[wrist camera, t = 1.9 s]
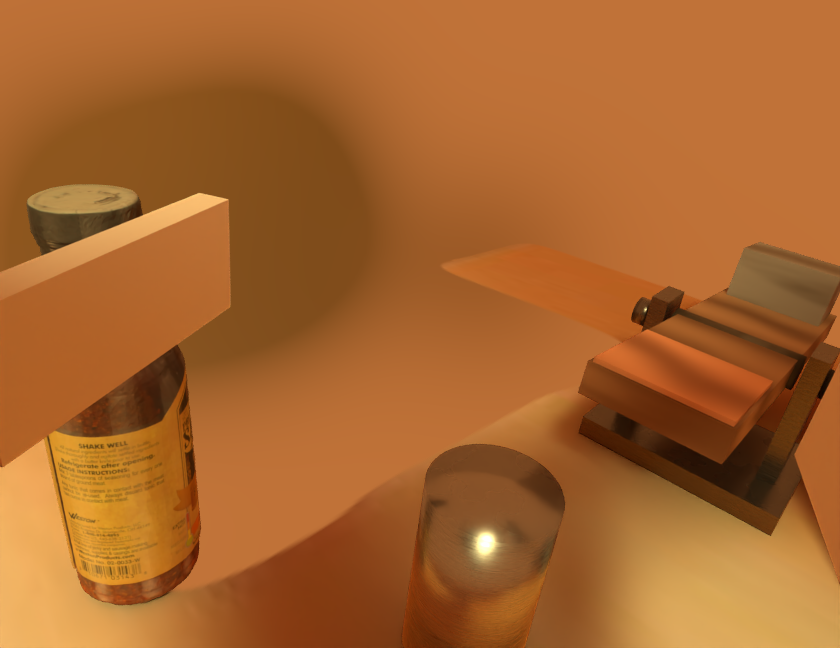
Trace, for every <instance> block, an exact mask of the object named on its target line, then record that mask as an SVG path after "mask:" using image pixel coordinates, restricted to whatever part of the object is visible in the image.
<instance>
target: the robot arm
mask: <svg viewBox="0 0 840 648" xmlns="http://www.w3.org/2000/svg"><path fill="white" fill-rule="evenodd" d="M230 306H231V299H230V249H229V200H228V199H224V198H219V197H215V196H210V195H206V194H202V193H198V194H196V195H193V196H191V197H188V198H186V199H183V200H181V201H178V202H176V203H173V204H170V205H168V206H165V207H163V208H160V209H158V210H155V211H153V212H151V213H148V214H145V215H143V216H140V217H138V218H135V219H133V220H130V221H128V222H125V223H123V224H120V225H118V226H115V227H113V228H110V229H108V230H105V231H103V232H100V233H98V234H95V235H93V236H90V237H88V238H85V239H83V240H80V241H78V242H75V243H72V244H70V245H67V246H65V247H62V248H60V249H57V250H55V251H52V252H50V253H47V254H45V255H42V256H40V257H37V258H35V259H32V260H30V261H27V262H25V263H22V264H20V265H17V266H15V267H12V268H10V269H7V270H5V271H2V272H0V467H4V466H5V465H7V464H8V463H10V462H11V461H13V460H14V459H15V458H17V457H18V456H20V455H21V454H22V453H24V452H25V451H27V450H28V449H30V448H31V447H32V446H34V445H35V444H37V443H38V442H39V441H41V440H42V439H44V438H45V437H47V436H48V435H49V434H51V433H52V432H54V431H55V430H56V429H58V428H59V427H61V426H62V425H64V424H65V423H66V422H68V421H69V420H71V419H72V418H73V417H75V416H76V415H78V414H79V413H81V412H82V411H83V410H85V409H86V408H88V407H89V406H90V405H92V404H93V403H95V402H96V401H98V400H99V399H100V398H102V397H103V396H105V395H106V394H107V393H109V392H110V391H112V390H113V389H115V388H116V387H117V386H119V385H120V384H122V383H123V382H124V381H126V380H127V379H129V378H130V377H132V376H133V375H134V374H136V373H137V372H139V371H140V370H141V369H143V368H144V367H146V366H147V365H149V364H150V363H151V362H153V361H154V360H156V359H157V358H158V357H160V356H161V355H163V354H164V353H166V352H167V351H168V350H170V349H171V348H173V347H174V346H175V345H177V344H178V343H180V342H181V341H182V340H184V339H185V338H187V337H188V336H190V335H191V334H192V333H194V332H195V331H197V330H198V329H200V328H201V327H202V326H204V325H205V324H207V323H208V322H210V321H211V320H212V319H214V318H215V317H217V316H218V315H219V314H221V313H222V312H224V311H225V310H226V309H228V308H229V307H230ZM794 455H795V458H796V461H797V464H798V467H799V470H800V472H801V475H802V478H803V481H804V484H805V487H806V490H807V492H808V495H809V498H810V501H811V504H812V507H813V509H814V512H815V515H816V518H817V521H818V524H819V527H820V529H821V532H822V535H823V538H824V541H825V544H826V547H827V549H828V552H829V555H830V558H831V561H832V564H833V566H834V569H835V572H836V575H837V578H838V581H839V584H840V363H839V365H838V367H837V369H836V371H835V373H834V375H833V377H832V379H831V381H830V383H829V385H828V387H827V389H826V391H825V393H824V395H823V397H822V399H821V401H820V404H819V406H818V408H817V410H816V412H815V414H814V416H813V418H812V420H811V422H810V424H809V426H808V428H807V430H806V432H805V434H804V436H803V438H802V440H801V442H800V444H799V446H798V448H797V450H796V452H795V454H794Z"/></svg>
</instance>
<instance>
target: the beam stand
mask: <svg viewBox="0 0 840 648" xmlns="http://www.w3.org/2000/svg"><path fill="white" fill-rule="evenodd" d="M683 295H684V292H683V291H681V290H678V289H675V288H672V287H670V286H668V287H667V288H665V289H664V290H662V291H660V292H659V293H657V294H656V295H654V296H653V297H652V300H650V299H647V298H644V297H642V298H641V299H640V300H639V301H638V302H637V304H636V306H635V308H634V310H633V313H632V317H631V320H632V322H634V323H637V324H639V325H642V326H643V329H642V332H643V331H645V330H647V329H650V328H652V327H654V326H656V325H658V324H660V323H662V322H664V321H666V320H667V319H669V318H671V316H672V315H673V313H674V312H675V311H676V309H678V308H679V307H680V304H681V301H682V298H683ZM839 353H840V348H837V347H834V346H831V345H829V344H826V343H823V342H821V343H820V344H819V345H818V347H817V348H816V349H815V351H814V352H813V354H812V355H811V356H810V359H809V361H808V363H807V365H806V367H805V369H804V372H803V374H802V376H801V378H800V380H799V382H798V385H797V387H796V389H795V391H794V393H793V396H792V398H791V400H790V402H789V404H788V406H787V409H786V411H785V413H784V415H783V417H782V419H781V422H780V424H779V426H778V428H777V430H776V433H773V432H771V431H769V430H767V429H765V428H762V427H760V426H758V425H756V424H755V425H754V426H753V427H752V429H751V430H750V431H749V432H748V433H747V435H746V436H745V437H744V438H743V440H742V441H741V442H740V443H739V444H738V446H737V447H736V448H735V449H734V450H733V452H732V453H731V454H730V455H729V456H728V458H727V459H726V460H725V461H724V463H723V464H720V463H718V462H716V461H714V460H712V459H710V458H708V457H706V456H704V455H702V454H700V453H698V452H696V451H694V450H692V449H690V448H688V447H686V446H684V445H682V444H680V443H678V442H676V441H674V440H672V439H670V438H668V437H666V436H664V435H662V434H660V433H658V432H656V431H654V430H652V429H650V428H648V427H646V426H644V425H642V424H640V423H638V422H636V421H634V420H632V419H630V418H628V417H626V416H624V415H622V414H620V413H618V412H616V411H614V410H612V409H610V408H608V407H606V406H604V405H602V404H600V403H599V404H598V405H597V406H596V407H594V408H593V409H592V410H591V411H589V412H588V413H587V414H586V415H584V416H583V419H582V423H581V426H580V430H579V433H581V434H583V435H585V436H586V437H588V438H590V439H592V440H594V441H596V442H598V443H599V444H601V445H603V446H605V447H607V448H609V449H611V450H612V451H614V452H616V453H618V454H620V455H622V456H624V457H625V458H627V459H629V460H631V461H633V462H635V463H637V464H638V465H640V466H642V467H644V468H646V469H648V470H650V471H651V472H653V473H655V474H657V475H659V476H661V477H663V478H664V479H666V480H668V481H670V482H672V483H674V484H676V485H677V486H679V487H681V488H683V489H685V490H687V491H689V492H690V493H692V494H694V495H696V496H698V497H700V498H702V499H703V500H705V501H707V502H709V503H711V504H713V505H715V506H716V507H718V508H720V509H722V510H724V511H726V512H728V513H729V514H731V515H733V516H735V517H737V518H739V519H741V520H742V521H744V522H746V523H748V524H750V525H752V526H754V527H755V528H757V529H759V530H761V531H763V532H765V533H767V534H768V535H770V536H771V534H772V532H773V531H774V529H775V527H776V525H777V523H778V521H779V519H780V518H781V516H782V514H783V512H784V510H785V508H786V506H787V504H788V503H789V501H790V499H791V497H792V495H793V493H794V491H795V489H796V488H797V486H798V484H799V482H800V480H801V478H802V475H801V472H800V470H799V467H798V464H797V461H796V458H795V455H794V454H795V452H796V450H797V448H798V446H799V444H798V443H796V442H797V440H798V438H799V436H800V434H801V432H802V430H803V428H804V426H805V423H806V421H807V419H808V417H809V415H810V413H811V411H812V409H813V407H814V405H815V403H816V401H817V399H818V398H820V399H822V397H823V395H824V393H825V391H826V389H827V387H828V385H829V383H830V381H831V379H832V377H833V375H834V373H835V370H832V368H833V365H834V363H835V361H836V359H837V357H838V355H839Z"/></svg>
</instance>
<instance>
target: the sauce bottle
mask: <svg viewBox="0 0 840 648" xmlns="http://www.w3.org/2000/svg"><path fill="white" fill-rule="evenodd" d="M27 211H28V217H29V223H30V229H31V233H32V234H33V236H34V239H35V240H36V242H37V244H38V245H39V246H40V251H41V254H42V255H45V254H47V253H50V252H52V251H55V250H57V249H60V248H62V247H65V246H67V245H70V244H72V243H75V242H78V241H80V240H83V239H85V238H88V237H90V236H93V235H95V234H98V233H100V232H103V231H105V230H108V229H110V228H113V227H115V226H118V225H120V224H123V223H125V222H128V221H130V220H133V219H135V218H138V217H140V216H143V214H142V209H141V203H140V199H139V197H138V195H136V193H135V192H134V191H132V190H129V189H126V188H122V187H116V186H109V185H69V186H60V187H55V188H50V189H47V190H44V191H41V192H39V193H37V194H35V195H32V196H31V197H30V198H29V199H28V201H27ZM44 442H45V446H46V451H47V455H48V460H49V464H50V469H51V473H52V478H53V482H54V487H55V491H56V495H57V500H58V504H59V509H60V513H61V517H62V522H63V526H64V530H65V535H66V539H67V544H68V548H69V553H70V558H71V562H72V565H73V567H74V568H77V573H78V578H79V580H80V584H81V586H82V588H83V589H84V591H85V592H86V593H88V594H89V595H90V596H91V597H93V598H95V599H97V600H100V601H102V602H109V603H112V604H115V605H132V604H137V603H146V602H148V601H150V600H152V599H155V598H157V597H161V596H163V595H164V594H165V593H167V592H168V591H170V590H172V589H174V588H175V587H176V586H177V585H179V584H180V583H181V582H182V581H184V580H185V579H186V578H187V576H188V575H189V574H190V572H191V570H192V569H193V567H194V565H195V563H196V561H197V558H198V553H199V536H200V530H201V525H200V524H201V523H200V513H199V502H198V491H197V481H196V470H195V456H194V450H193V436H192V426H191V417H190V407H189V397H188V388H187V375H186V368H185V360H184V357H183V354H182V352H181V351H180V349H179V347H178V345H175V346H174V347H173V348H171V349H170V350H168V351H167V352H166V353H164V354H163V355H161V356H160V357H158V358H157V359H156V360H154V361H153V362H151V363H150V364H149V365H147V366H146V367H144V368H143V369H141V370H140V371H139V372H137V373H136V374H134V375H133V376H132V377H130V378H129V379H127V380H126V381H124V382H123V383H122V384H120V385H119V386H117V387H116V388H115V389H113V390H112V391H110V392H109V393H107V394H106V395H105V396H103V397H102V398H100V399H99V400H98V401H96V402H95V403H93V404H92V405H90V406H89V407H88V408H86V409H85V410H83V411H82V412H81V413H79V414H78V415H76V416H75V417H73V418H72V419H71V420H69V421H68V422H66V423H65V424H64V425H62V426H61V427H59V428H58V429H56V430H55V431H54V432H52V433H51V434H49V435H48V436H47V437H45V438H44Z"/></svg>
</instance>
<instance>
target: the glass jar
mask: <svg viewBox="0 0 840 648" xmlns="http://www.w3.org/2000/svg"><path fill="white" fill-rule="evenodd" d="M564 510H565V500H564V495H563V492H562V489H561V487H560V485H559V484H558V482H557V481H556V479H555V478H554V477H553V475H552V474H551V473H550V472H549V471H548V470H547V469H546V468H545V467H543V466H542V465H541V464H539V463H538V462H537V461H535V460H533V459H532V458H530V457H528V456H526V455H524V454H522V453H520V452H517V451H515V450H512V449H509V448H505V447H501V446H495V445H487V444H472V445H464V446H459V447H456V448H453V449H450V450H448V451H446V452H444V453H443V454H441V455H440V456H438V457H437V458H436V459H435V460H434V461H433V462H432V463H431V465H430V467H429V468H428V470H427V473H426V478H425V485H424V491H423V498H422V504H421V511H420V518H419V524H418V531H417V538H416V544H415V551H414V558H413V564H412V571H411V577H410V584H409V591H408V597H407V604H406V611H405V617H404V624H403V631H402V645H403V648H525V645H526V641H527V638H528V634H529V631H530V628H531V624H532V621H533V617H534V614H535V610H536V607H537V603H538V600H539V597H540V593H541V590H542V586H543V583H544V579H545V576H546V572H547V569H548V566H549V562H550V559H551V555H552V552H553V548H554V545H555V541H556V538H557V534H558V531H559V528H560V524H561V521H562V517H563V514H564Z"/></svg>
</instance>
